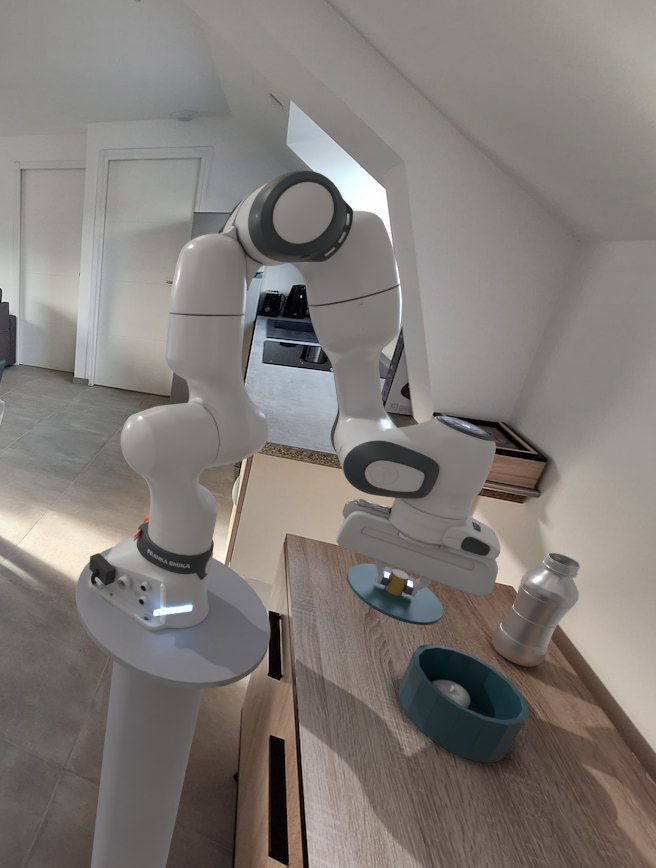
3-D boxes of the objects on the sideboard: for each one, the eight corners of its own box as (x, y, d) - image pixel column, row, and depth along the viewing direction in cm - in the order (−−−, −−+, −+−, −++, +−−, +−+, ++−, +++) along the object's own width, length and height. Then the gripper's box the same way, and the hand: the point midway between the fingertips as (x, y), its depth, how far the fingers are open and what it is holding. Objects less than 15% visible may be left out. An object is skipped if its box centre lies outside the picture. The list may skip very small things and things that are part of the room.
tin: (398, 726, 65) (415, 688, 62) (397, 666, 74) (412, 631, 72) (515, 783, 58) (539, 744, 56) (498, 709, 68) (518, 673, 65)
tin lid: (341, 600, 75) (350, 578, 73) (349, 558, 85) (356, 538, 83) (443, 642, 68) (456, 619, 66) (438, 591, 78) (448, 569, 76)
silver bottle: (531, 650, 78) (583, 555, 71) (545, 679, 73) (603, 580, 66) (482, 634, 81) (528, 541, 74) (493, 661, 76) (543, 564, 69)
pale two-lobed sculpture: (426, 691, 71) (470, 703, 67) (425, 729, 65) (473, 744, 62) (424, 667, 70) (468, 678, 67) (423, 703, 64) (471, 717, 61)
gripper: (346, 503, 73) (323, 570, 79) (515, 556, 63) (475, 630, 68) (350, 487, 78) (327, 552, 83) (507, 534, 67) (470, 605, 73)
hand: (395, 587), depth 76 cm, fingers closed on tin lid, 2 cm apart
